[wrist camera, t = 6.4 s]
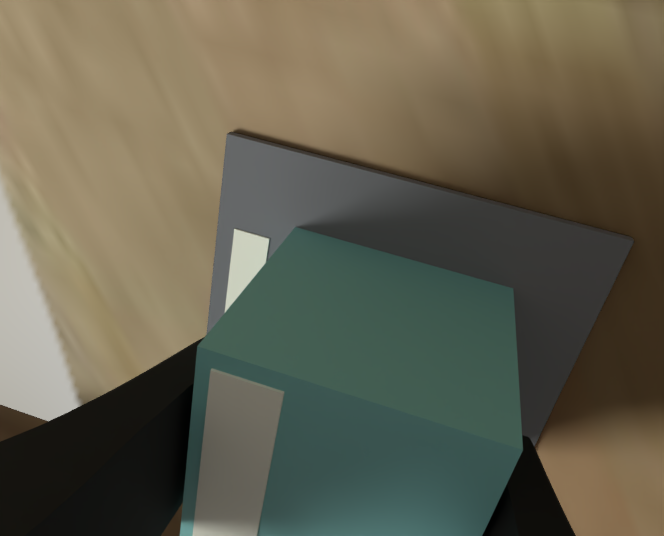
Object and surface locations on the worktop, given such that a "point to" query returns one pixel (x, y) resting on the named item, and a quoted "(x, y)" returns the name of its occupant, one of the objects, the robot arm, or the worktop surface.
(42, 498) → the robot arm
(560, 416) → the worktop surface
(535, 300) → the mat
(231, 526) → the cube
